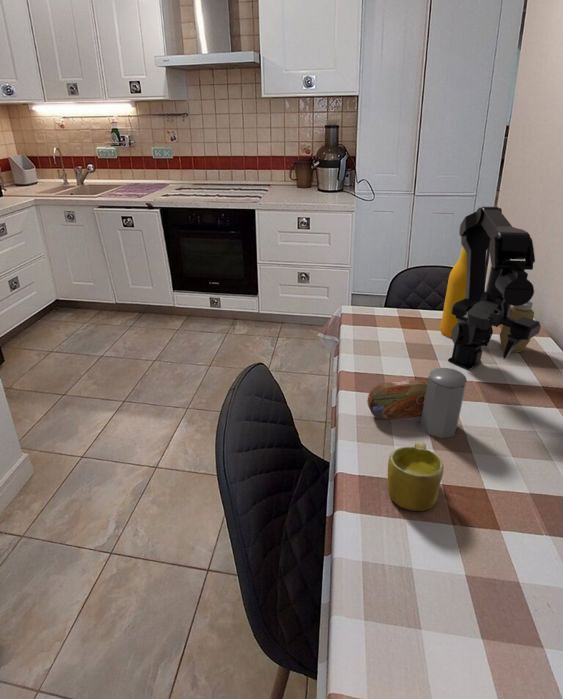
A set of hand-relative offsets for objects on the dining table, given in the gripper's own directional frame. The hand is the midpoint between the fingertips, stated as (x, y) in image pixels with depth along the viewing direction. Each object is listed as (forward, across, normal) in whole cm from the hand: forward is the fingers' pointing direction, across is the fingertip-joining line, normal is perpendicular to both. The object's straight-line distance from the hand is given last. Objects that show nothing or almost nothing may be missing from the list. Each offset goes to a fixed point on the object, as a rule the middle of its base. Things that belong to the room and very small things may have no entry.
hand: (486, 350), depth 112 cm
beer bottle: (+11, -22, +24) cm, 34 cm away
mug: (+11, +11, -40) cm, 43 cm away
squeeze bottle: (+11, -6, +28) cm, 31 cm away
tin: (+11, -6, -23) cm, 27 cm away
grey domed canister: (+11, +3, -20) cm, 23 cm away
